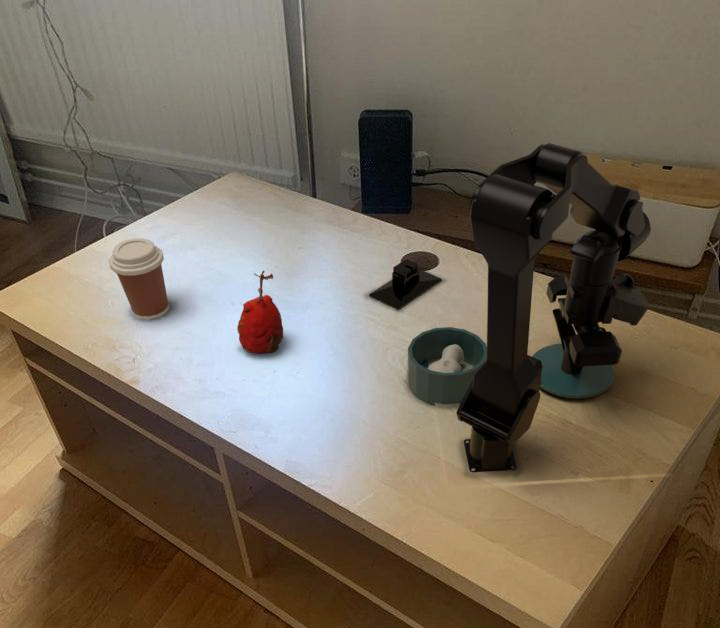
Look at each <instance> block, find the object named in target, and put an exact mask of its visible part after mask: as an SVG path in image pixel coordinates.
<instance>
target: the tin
mask: <svg viewBox="0 0 720 628" xmlns="http://www.w3.org/2000/svg"><path fill="white" fill-rule="evenodd" d="M454 344H456V345H459V346H460V347H461V348H462V350H463V353H464V360H463V361H462V362H464V363H467V364H469V365H470V366H472V367H471V368H468V369H465V370H462V371H461V372H455V373H442V372H437V371H431V370H429V369H427V368H428V367H429V361H431V360H434V359H441V358H442V352H443V350H444V349H445V348H446V347H448V346H450V345H454ZM486 358H487V342H485V341H484V340H483V339H482V338H481V337H480V336H479V335H478V334H476V333H474V332H471V331H470V330H467V329H464V328H458V327H453V326H448V327H447V326H446V327H444V326H443V327H435V328H431V329H428V330H425V331H422V332H421V333H419V334H418V335H416V336H415V337H414V338H412V340H411V341H410V344H409V345H408V347H407V385H408V388H409V390H410V391H411V393H412V394H413V395H414V396H415V397H416V398H417V399H419V400H420V401H422V402H424V403H425V404H429V405H433V406H435V405H436V404H441V405H453V404H454V405H455V404H461V402H462V400H463V398H464V396H465V394H466V392H467V390H468V388H469V386H470V384H471V382H472V380H473V378H474V373H475V372H476V371H477V370H478V369H479V368H480V367H481V365H482V364H483V363H484V362H485V361H486Z"/></svg>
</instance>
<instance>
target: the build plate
mask: <svg viewBox="0 0 720 628" xmlns="http://www.w3.org/2000/svg"><path fill="white" fill-rule="evenodd" d="M442 280H443V279H442V277H439V276H437V275H434V274H433V273H430V272H427V271H424V270H422V269H420V265H419V264H418V263H416V262H414V261H412V260H410V259H407V258H406V259H404V260H403V261H400V263H398V264H396V265H395V266H393V267H392V272H391V280H389V281H387V282H386V283H384V284H382V285H381V286H380V287H378V288H377V289H375V290H373V291H371V292H370V293H369V294H368V297H369V298H371V299H374V300H376V301H377V302H380V303H382V304H384V305H386V306H388V307H390V308H393V309H394V310H397V311H399V310H400V309H402V308H404V307H405V306H407V305H408V304H410V303H412V301H415V300H416V299H417V298H419V297H420V296H422V295H423V294H424V293H427V292H428V291H429V290H430V289H432V288H433V287H435V286H436V285H438V284H439V283H441V282H442Z"/></svg>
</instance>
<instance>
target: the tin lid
mask: <svg viewBox="0 0 720 628" xmlns="http://www.w3.org/2000/svg"><path fill="white" fill-rule="evenodd" d="M574 336H575V335H573V336H570V337H568V338H573V337H574ZM532 357H534V358H536V359H538V360H541V363H542V366H543V368H542V372H541V382H542V383H541V385H539V388H540V389H541V390H544V391H545V392H547V393H550V394H552V395H554V396H557V397H562V398H567V399H588V398H592V397H595V396H599V395H601V394H603V393H604V392H606V391H607V390H608V389H610V387H611V386H612V384H613V383H614V380H615V375H616V371H615V367H614V365H601V366H584V367H583V368H582V369H581V371H580V372H579V373H578V374H571V371H570V367H569V363H568V358H567V354H566V349H564V351H563V348H562V344H561V343H555V344H550V345H547V346H544V347H542V348H540V349H538V350H537V351H535V353H533V355H532Z"/></svg>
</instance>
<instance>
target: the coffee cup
mask: <svg viewBox="0 0 720 628" xmlns="http://www.w3.org/2000/svg"><path fill="white" fill-rule="evenodd" d="M111 251H112V252H111V253H112V254H111V256H110V257H109V259H108V264H109V268H110V270H111V271H112V272H114V273H115V274H116V275H117V277H118V280H119V283H120V285H121V287H122V289H123V292H124V294H125V296H126V299H127V301H128V304H129V306H130V308H131V311H132V313H133V315H134V317H136V318H137V319H141V320H155V319H158V318H160V317H162V316H164V315H165V314H166V313H168V312H169V309H170V305H169V299H168V294H167V288H166V283H165V276H164V271H163V266H162V264H163V261H164V259H165V257H164V253H163V250H162V249H161V248H160V247H158V246H157V245H155V242H153V241H152V240H150V239H148V238H144V237H135V238H130V239H125V240H122V241H120V242H119V243H118V244H116V245H115V246H114V248H113V249H112V250H111Z"/></svg>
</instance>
